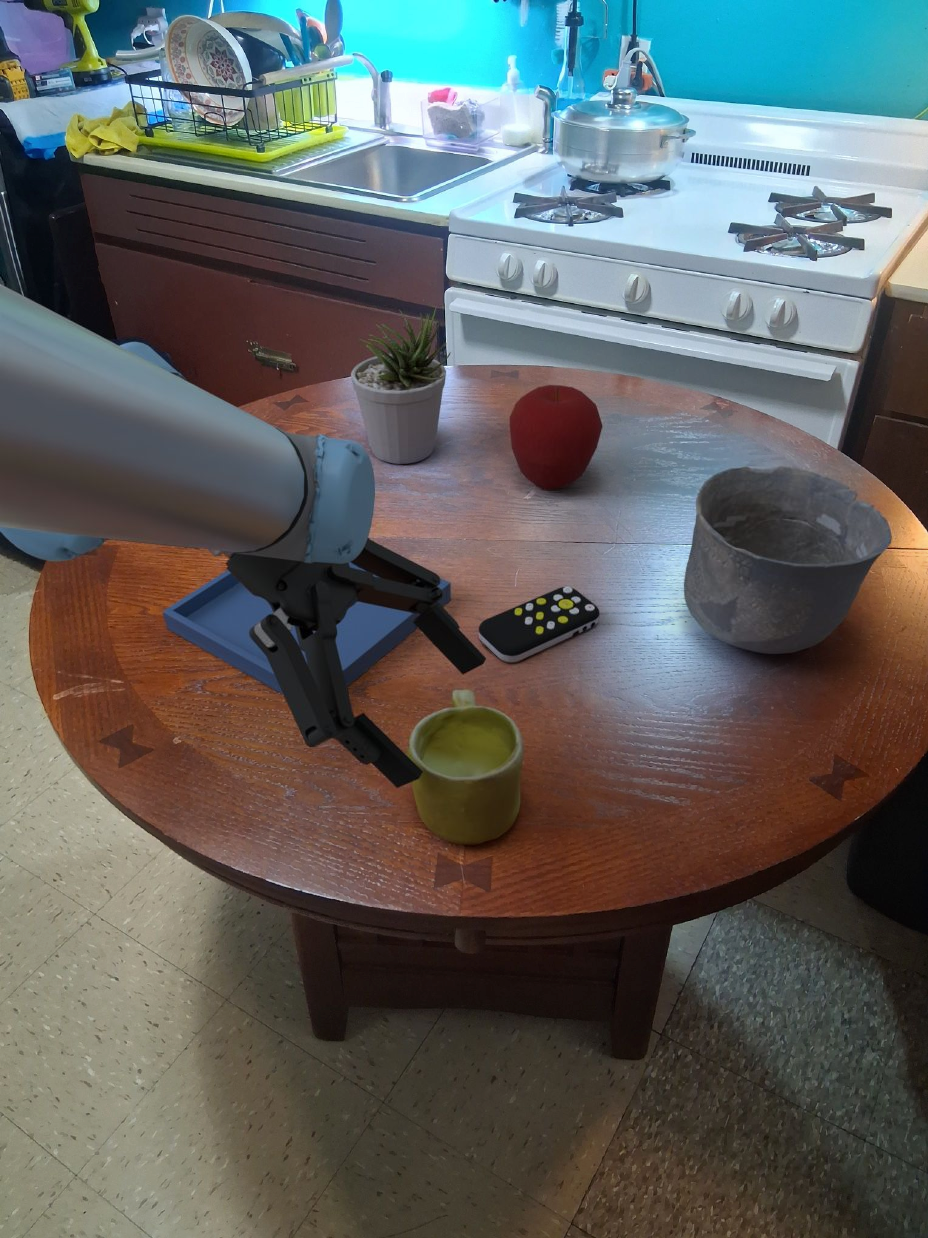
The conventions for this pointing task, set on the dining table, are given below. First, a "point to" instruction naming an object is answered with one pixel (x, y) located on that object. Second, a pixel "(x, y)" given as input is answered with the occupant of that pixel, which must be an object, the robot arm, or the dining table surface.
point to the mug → (467, 771)
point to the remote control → (538, 624)
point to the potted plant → (401, 395)
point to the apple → (554, 435)
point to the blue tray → (231, 611)
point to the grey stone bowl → (778, 557)
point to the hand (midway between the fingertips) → (444, 719)
